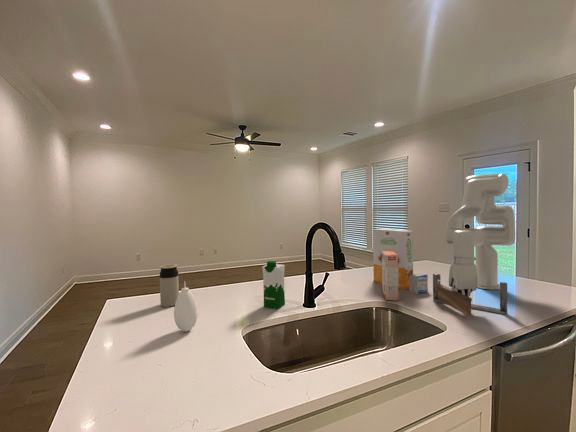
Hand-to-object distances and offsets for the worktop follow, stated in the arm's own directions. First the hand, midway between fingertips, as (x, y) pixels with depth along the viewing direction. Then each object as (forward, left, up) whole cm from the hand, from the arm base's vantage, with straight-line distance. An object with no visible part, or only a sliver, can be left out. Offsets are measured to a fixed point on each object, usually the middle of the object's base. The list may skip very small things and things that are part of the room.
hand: (463, 305), depth 120 cm
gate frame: (-6, 0, -2) cm, 6 cm away
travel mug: (+73, -104, -2) cm, 127 cm away
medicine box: (-16, -23, -2) cm, 28 cm away
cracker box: (0, -31, -2) cm, 31 cm away
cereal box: (-22, -39, -2) cm, 45 cm away
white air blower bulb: (+83, -71, -2) cm, 109 cm away
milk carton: (+44, -65, -2) cm, 79 cm away
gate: (+3, -3, 0) cm, 4 cm away
